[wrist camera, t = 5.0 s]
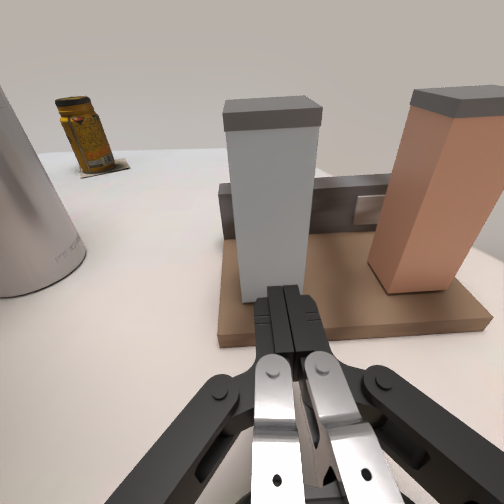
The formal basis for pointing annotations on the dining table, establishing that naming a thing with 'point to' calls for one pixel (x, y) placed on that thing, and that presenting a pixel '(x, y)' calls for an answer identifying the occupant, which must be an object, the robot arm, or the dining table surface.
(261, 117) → the grey tall block
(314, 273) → the base
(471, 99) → the orange-brown tall block
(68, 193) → the dining table surface
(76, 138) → the condiment
